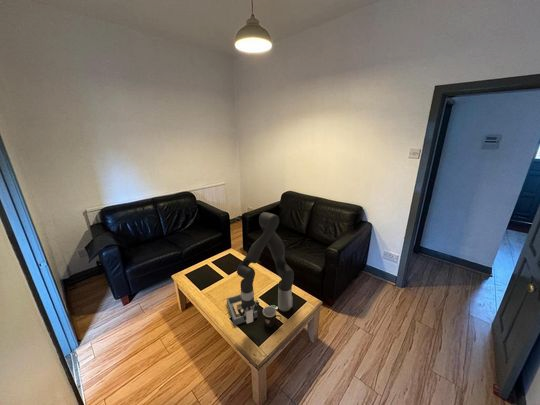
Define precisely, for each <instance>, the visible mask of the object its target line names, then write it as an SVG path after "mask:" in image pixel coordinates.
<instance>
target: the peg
mask: <svg viewBox="0 0 540 405" xmlns="http://www.w3.org/2000/svg"><path fill="white" fill-rule="evenodd" d="M253 322H254V319H253V310H251V309H250V310H247V312H246V322H245V323H246V324H249V323H253Z"/></svg>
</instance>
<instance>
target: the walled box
mask: <svg viewBox="0 0 540 405" xmlns="http://www.w3.org/2000/svg"><path fill="white" fill-rule="evenodd" d="M226 304H227V307H228V311H229V314H230V317H231V320H232V323H233V326H238V325H240V324H242V323H247V322H246V320H244V318H243V316H242V317H241V316H240V314H239V312H238V310H237V307H240V306H241V304H242V303H241V293H240V294H237V295H233V296H230V297H227V298H226ZM254 306H255V304H254ZM254 306H253V308H254ZM241 312H243V309H241ZM258 315H259V314H258V310H257V311H255V312H254V317H253V320H254V319H257V318H258V317H259V316H258Z"/></svg>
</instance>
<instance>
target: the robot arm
mask: <svg viewBox="0 0 540 405" xmlns="http://www.w3.org/2000/svg"><path fill="white" fill-rule="evenodd" d="M258 224H259V226H260V228H261V230H262V234H261V235H260V236H259V237H258V238H257V239H256V240H255V241H254V242H253V243H252V245H250V248H249V250H248V251H247V252H248V253H247V254H246V256H245V257H244V258H243V259H242V261H241V262H240V263H239V264H238V266H237V268H236V274H237V275H238V276H239V277H241V278H242V279H241V281H240V294H241V303H242V304H241V306H240V307H237V310H238V312H239V314H240V316H241V317H242V316H243V318H244V320H246V312H247V310H250V309H251V310H253V317H254V312H255V311H257V312H258V308H259V306H260V302H259V300H258V299H255V292H254V280H255V276H256V271H255V269H254V267H252V266H250V264H257V263H258V262H259V260H260V257H261V255H262V253H263V250H264V248H265V247H266V245H268V248H269V251H270V254H271V258H272V259H273V261H274V265H275V270H276V274H277V275H278V277H279V278H280V279H281V280H280V281H279V282H278V286H277V288H278V290H277V292H278V293H277V294H278V295H277V306H278V307H277V308H278V309H279V310H280V311H281V312H288V311H290V310H291V308H293V298H294V297H293V295H292V292H293V290H292V286H293V284H294V277H295V272H294V270H293V269H292V268H291V267H290V266H289V265H288V264H287V261H286V259H285V254H286V248H285V244H284V243H283V242H284V241H282V239H281V237H280V236H279V235H278V234H277V232H276V230H277V228H278V227H279V224H280V217H279V216H278V215H277V214H274V213H271V212H267V211H266V212H265V211H264V212H262V213H260V214H259V217H258ZM254 305H255V306H254ZM253 306H254V308H253ZM241 309H243V312H241Z"/></svg>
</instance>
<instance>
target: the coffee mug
mask: <svg viewBox="0 0 540 405" xmlns="http://www.w3.org/2000/svg"><path fill="white" fill-rule="evenodd" d="M262 316H263V321H264V326H265V327H266V328H273V327H274V326H275V323H276V322H281V321H282V316H281V315H279V314H277V310H276V307H274V306H272V305H269V306H265V307H264V308H263V309H262ZM277 317H279V318H280V319H278V320H276V318H277Z"/></svg>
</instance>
